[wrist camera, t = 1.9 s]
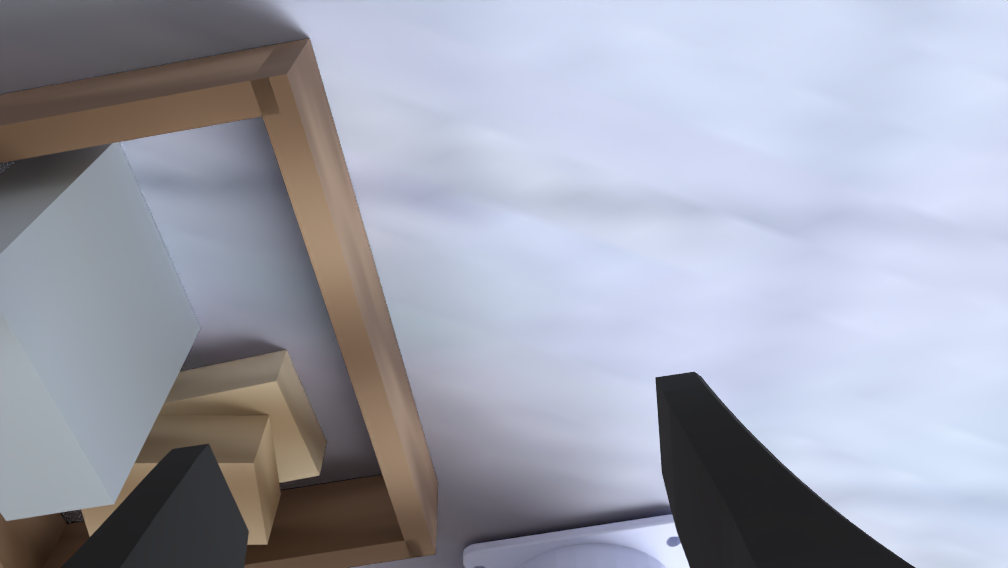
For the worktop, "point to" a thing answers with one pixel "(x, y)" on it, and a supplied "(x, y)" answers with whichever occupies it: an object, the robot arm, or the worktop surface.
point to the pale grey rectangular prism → (81, 329)
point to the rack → (337, 265)
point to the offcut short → (239, 456)
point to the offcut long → (257, 406)
